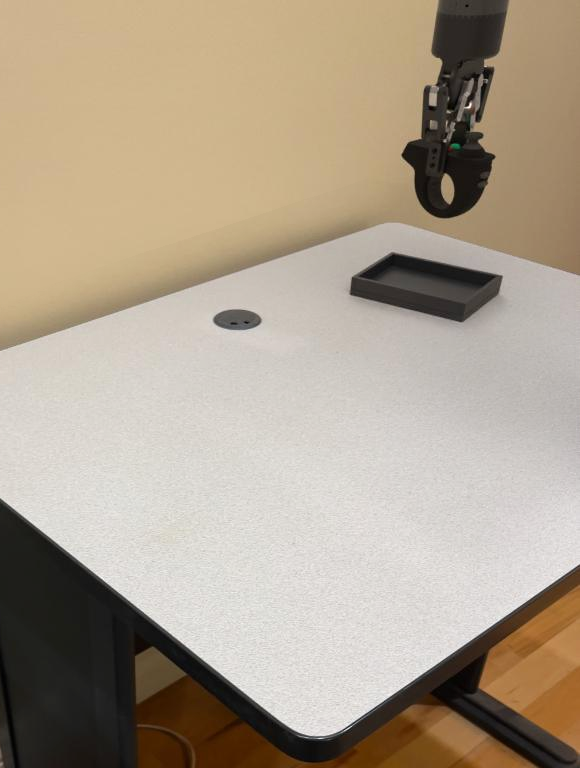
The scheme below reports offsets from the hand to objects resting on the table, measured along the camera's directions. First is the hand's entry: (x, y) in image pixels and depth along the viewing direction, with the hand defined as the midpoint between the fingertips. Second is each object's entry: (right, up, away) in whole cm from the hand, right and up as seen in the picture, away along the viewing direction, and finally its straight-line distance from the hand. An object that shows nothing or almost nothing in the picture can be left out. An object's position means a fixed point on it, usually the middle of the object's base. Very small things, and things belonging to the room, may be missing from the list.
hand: (445, 169), depth 110 cm
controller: (0, -4, +4) cm, 6 cm away
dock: (+1, -12, +10) cm, 16 cm away
